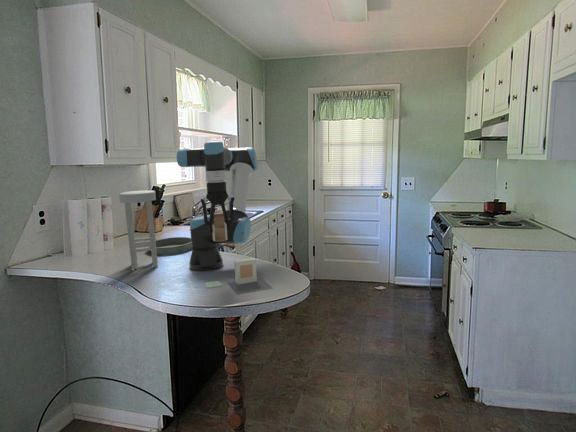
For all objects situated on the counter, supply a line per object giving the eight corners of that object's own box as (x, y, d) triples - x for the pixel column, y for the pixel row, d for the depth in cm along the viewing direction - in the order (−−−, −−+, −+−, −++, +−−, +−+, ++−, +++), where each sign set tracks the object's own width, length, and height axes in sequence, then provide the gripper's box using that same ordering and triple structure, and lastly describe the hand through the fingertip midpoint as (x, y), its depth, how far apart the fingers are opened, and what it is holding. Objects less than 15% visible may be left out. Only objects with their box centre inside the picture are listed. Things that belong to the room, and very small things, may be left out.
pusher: (214, 240, 168) (212, 213, 166) (224, 239, 169) (222, 212, 167) (215, 242, 164) (213, 214, 162) (225, 241, 165) (223, 213, 163)
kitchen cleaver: (244, 244, 228) (229, 247, 221) (244, 246, 228) (229, 249, 221) (220, 239, 246) (205, 241, 239) (220, 240, 246) (205, 243, 239)
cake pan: (157, 245, 239) (156, 237, 238) (199, 243, 238) (198, 236, 237) (140, 256, 214) (139, 248, 214) (187, 254, 213) (186, 246, 213)
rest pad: (204, 285, 163) (204, 282, 163) (219, 282, 166) (219, 280, 165) (207, 290, 158) (207, 287, 158) (222, 287, 160) (222, 284, 160)
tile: (235, 282, 163) (234, 260, 162) (255, 279, 166) (253, 257, 165) (237, 284, 161) (235, 262, 159) (256, 281, 164) (255, 259, 162)
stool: (128, 263, 201) (120, 191, 195) (161, 259, 205) (154, 189, 200) (126, 272, 186) (118, 195, 180) (162, 267, 191) (155, 192, 185)
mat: (227, 284, 164) (227, 282, 164) (260, 278, 169) (260, 277, 169) (236, 296, 150) (236, 294, 150) (273, 289, 155) (273, 288, 155)
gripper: (194, 183, 157) (199, 243, 160) (239, 180, 161) (242, 239, 165) (193, 182, 164) (197, 240, 167) (236, 179, 169) (239, 236, 172)
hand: (220, 239), depth 166 cm, fingers closed on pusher, 4 cm apart
